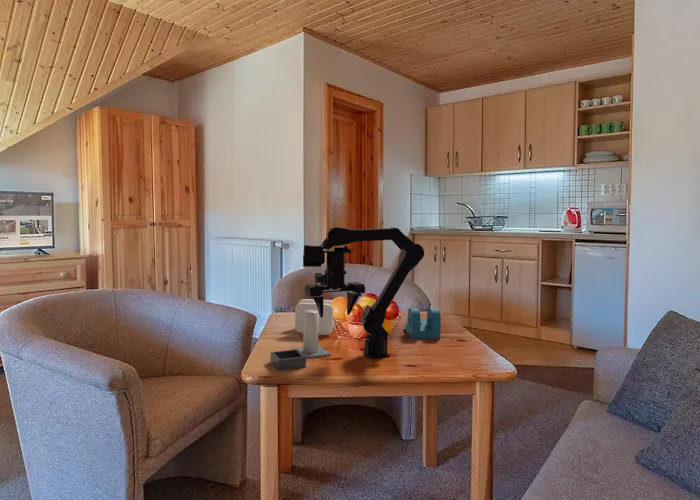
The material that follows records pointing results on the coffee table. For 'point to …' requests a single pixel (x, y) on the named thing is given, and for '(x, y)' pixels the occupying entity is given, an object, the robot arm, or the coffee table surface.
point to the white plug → (310, 331)
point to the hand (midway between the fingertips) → (334, 315)
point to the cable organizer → (324, 322)
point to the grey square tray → (288, 359)
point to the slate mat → (320, 353)
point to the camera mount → (423, 324)
